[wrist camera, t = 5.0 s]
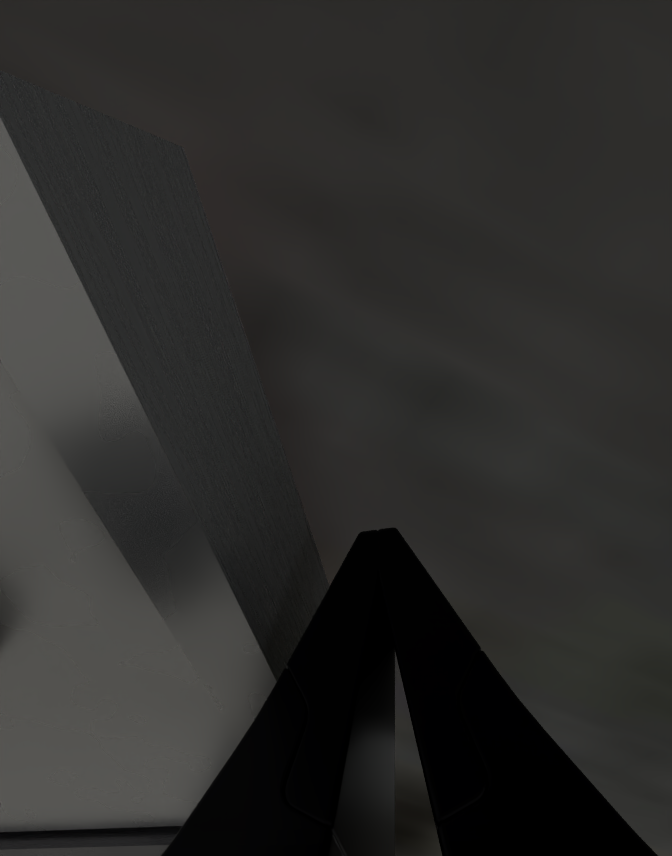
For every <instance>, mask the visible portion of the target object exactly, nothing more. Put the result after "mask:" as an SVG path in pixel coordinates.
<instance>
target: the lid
mask: <svg viewBox="0 0 672 856" xmlns="http://www.w3.org/2000/svg"><path fill="white" fill-rule="evenodd" d="M329 587H330V586H329V583H328V580H327V577H326V574H325V571H324V568H323V565H322V562H321V559H320V556H319V553H318V550H317V547H316V544H315V541H314V538H313V535H312V532H311V529H310V526H309V523H308V520H307V517H306V514H305V511H304V508H303V505H302V502H301V499H300V496H299V493H298V490H297V487H296V484H295V481H294V478H293V475H292V472H291V469H290V466H289V463H288V460H287V457H286V454H285V451H284V448H283V445H282V442H281V439H280V436H279V433H278V430H277V427H276V424H275V421H274V418H273V415H272V412H271V409H270V406H269V403H268V400H267V397H266V394H265V391H264V388H263V385H262V382H261V379H260V376H259V373H258V370H257V367H256V364H255V361H254V358H253V355H252V352H251V349H250V346H249V343H248V340H247V337H246V334H245V331H244V328H243V325H242V322H241V319H240V316H239V313H238V310H237V307H236V304H235V301H234V298H233V295H232V292H231V289H230V286H229V283H228V280H227V277H226V274H225V271H224V268H223V265H222V262H221V259H220V256H219V253H218V250H217V247H216V244H215V241H214V238H213V235H212V232H211V229H210V226H209V223H208V220H207V217H206V214H205V211H204V208H203V205H202V202H201V199H200V196H199V193H198V190H197V187H196V184H195V181H194V178H193V175H192V172H191V169H190V166H189V163H188V160H187V157H186V154H185V151H184V148H183V147H182V146H179V145H177V144H174V143H172V142H170V141H167V140H165V139H163V138H160V137H158V136H155V135H153V134H151V133H148V132H146V131H143V130H141V129H139V128H136V127H134V126H132V125H129V124H127V123H124V122H122V121H120V120H117V119H115V118H113V117H110V116H108V115H105V114H103V113H101V112H98V111H96V110H94V109H91V108H89V107H86V106H84V105H82V104H79V103H77V102H75V101H72V100H70V99H67V98H65V97H63V96H60V95H58V94H56V93H53V92H51V91H48V90H46V89H44V88H41V87H39V86H37V85H34V84H32V83H29V82H27V81H25V80H22V79H20V78H18V77H15V76H13V75H10V74H8V73H6V72H3V71H1V70H0V832H21V831H49V830H77V829H105V828H133V827H161V826H183V824H184V823H185V821H186V820H187V819H188V817H189V816H190V814H191V813H192V811H193V810H194V808H195V807H196V805H197V804H198V803H199V801H200V800H201V798H202V797H203V795H204V794H205V792H206V791H207V789H208V788H209V786H210V785H211V784H212V782H213V781H214V779H215V778H216V776H217V775H218V773H219V772H220V770H221V769H222V768H223V766H224V765H225V763H226V762H227V760H228V759H229V757H230V756H231V754H232V753H233V751H234V750H235V749H236V747H237V745H238V744H239V742H240V741H241V739H242V738H243V736H244V735H245V733H246V732H247V730H248V729H249V727H250V726H251V724H252V723H253V721H254V720H255V718H256V717H257V715H258V713H259V711H260V710H261V708H262V706H263V705H264V703H265V701H266V700H267V698H268V696H269V694H270V693H271V691H272V689H273V688H274V686H275V684H276V682H277V680H278V679H279V677H280V675H281V673H282V671H283V669H284V668H287V666H286V665H287V663H288V661H289V659H290V657H291V655H292V654H293V652H294V650H295V648H296V646H297V645H298V643H299V641H300V639H301V637H302V636H303V634H304V632H305V630H306V628H307V627H308V625H309V623H310V621H311V619H312V617H313V616H314V614H315V612H316V610H317V608H318V607H319V605H320V603H321V601H322V599H323V598H324V596H325V594H326V592H327V590H328V589H329Z"/></svg>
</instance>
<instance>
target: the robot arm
mask: <svg viewBox="0 0 672 856" xmlns="http://www.w3.org/2000/svg"><path fill="white" fill-rule="evenodd" d="M395 652H396V656H397V660H398V665H399V669H400V673H401V678H402V682H403V686H404V691H405V695H406V699H407V704H408V708H409V712H410V717H411V721H412V725H413V730H414V734H415V738H416V743H417V747H418V751H419V756H420V760H421V764H422V769H423V773H424V777H425V782H426V786H427V791H428V795H429V799H430V804H431V808H432V812H433V817H434V821H435V825H436V829H437V834H438V838H439V843H440V847H441V851H442V856H658V855H657V854H656V853H655V852H654V851H653V850H652V849H651V848H650V847H649V846H648V845H647V844H646V843H645V842H644V841H643V840H642V839H641V838H640V837H639V836H638V835H637V833H636V832H635V831H634V830H633V829H632V828H631V827H630V826H629V825H628V824H627V823H626V821H625V820H624V819H623V818H622V817H621V816H620V815H619V814H618V812H617V811H616V810H615V809H614V808H613V807H612V806H611V805H610V803H609V802H608V801H607V800H606V799H605V798H604V797H603V795H602V794H601V793H600V792H599V791H598V790H597V789H596V788H595V786H594V785H593V784H592V783H591V782H590V781H589V780H588V779H587V777H586V776H585V775H584V774H583V773H582V772H581V771H580V769H579V768H578V767H577V766H576V765H575V764H574V763H573V762H572V760H571V759H570V758H569V757H568V756H567V755H566V754H565V752H564V751H563V750H562V749H561V748H560V747H559V746H558V745H557V743H556V742H555V741H554V740H553V739H552V738H551V737H550V736H549V734H548V733H547V732H546V731H545V730H544V729H543V727H542V726H541V725H540V724H539V723H538V721H537V720H536V719H535V718H534V717H533V715H532V714H531V713H530V712H529V711H528V710H527V708H526V707H525V706H524V705H523V704H522V702H521V701H520V700H519V699H518V697H517V696H516V695H515V694H514V692H513V691H512V690H511V688H510V687H509V686H508V684H507V683H506V682H505V680H504V679H503V678H502V676H501V675H500V674H499V672H498V671H497V670H496V668H495V667H494V665H493V664H492V662H491V661H490V660H489V658H488V657H487V655H486V654H485V653H484V651H481V648H480V646H479V644H478V643H477V642H476V640H475V639H474V637H473V636H472V635H471V633H470V632H469V630H468V629H467V627H466V626H465V625H464V623H463V622H462V620H461V619H460V618H459V616H458V615H457V613H456V612H455V610H454V609H453V608H452V606H451V605H450V603H449V602H448V601H447V599H446V598H445V596H444V595H443V593H442V592H441V591H440V589H439V588H438V586H437V585H436V584H435V582H434V581H433V579H432V578H431V576H430V575H429V574H428V572H427V571H426V569H425V568H424V567H423V565H422V564H421V562H420V561H419V559H418V558H417V557H416V555H415V554H414V552H413V551H412V549H411V548H410V547H409V545H408V544H407V542H406V541H405V540H404V538H403V537H402V535H401V534H400V532H399V531H398V530H397V529H396V528H386V529H380V530H378V531H377V530H371V531H364V532H360V533H359V534H358V536H357V538H356V540H355V542H354V543H353V545H352V547H351V549H350V551H349V552H348V554H347V556H346V558H345V560H344V561H343V563H342V565H341V567H340V569H339V570H338V572H337V574H336V576H335V578H334V580H333V581H332V583H331V585H330V587H329V589H328V590H327V592H326V594H325V596H324V598H323V599H322V601H321V603H320V605H319V607H318V608H317V610H316V612H315V614H314V616H313V617H312V619H311V621H310V623H309V625H308V627H307V628H306V630H305V632H304V634H303V636H302V637H301V639H300V641H299V643H298V645H297V646H296V648H295V650H294V652H293V654H292V655H291V657H290V659H289V661H288V663H287V665H286V666H287V668H284V669H283V671H282V673H281V675H280V677H279V679H278V680H277V682H276V684H275V686H274V688H273V689H272V691H271V693H270V694H269V696H268V698H267V700H266V701H265V703H264V705H263V706H262V708H261V710H260V711H259V713H258V715H257V717H256V718H255V720H254V721H253V723H252V724H251V726H250V727H249V729H248V730H247V732H246V733H245V735H244V736H243V738H242V739H241V741H240V742H239V744H238V745H237V747H236V749H235V750H234V751H233V753H232V754H231V756H230V757H229V759H228V760H227V762H226V763H225V765H224V766H223V768H222V769H221V770H220V772H219V773H218V775H217V776H216V778H215V779H214V781H213V782H212V784H211V785H210V786H209V788H208V789H207V791H206V792H205V794H204V795H203V797H202V798H201V800H200V801H199V803H198V804H197V805H196V807H195V808H194V810H193V811H192V813H191V814H190V816H189V817H188V819H187V820H186V821H185V823H184V824H183V826H182V827H181V829H180V830H179V832H178V833H177V835H176V836H175V837H174V839H173V840H172V841H171V843H170V844H169V846H168V847H167V848H166V849H165V851H164V852H163V853H162V854H161V856H395Z"/></svg>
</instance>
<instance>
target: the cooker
mask: <svg viewBox="0 0 672 856" xmlns="http://www.w3.org/2000/svg"><path fill="white" fill-rule="evenodd" d="M181 827H182V826H161V827H133V828H105V829H77V830H49V831H21V832H0V856H161V854H162V853H163V852H164V851H165V849H166V848H167V847H168V846H169V844H170V843H171V841H172V840H173V839H174V837H175V836H176V835H177V833H178V832H179V830H180V829H181Z"/></svg>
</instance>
